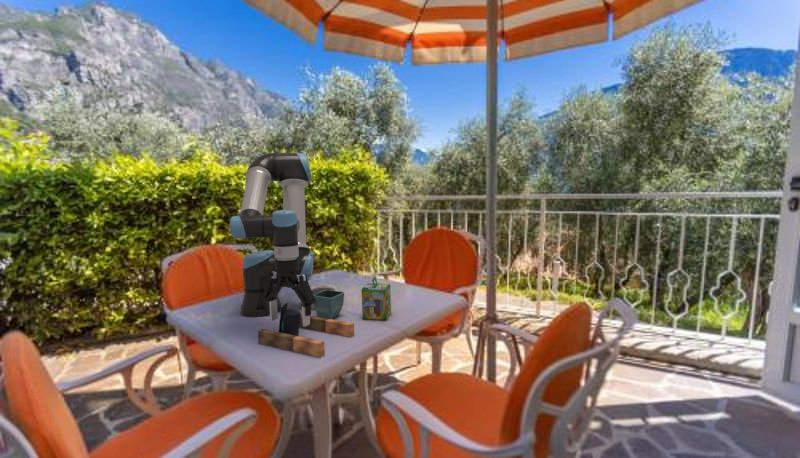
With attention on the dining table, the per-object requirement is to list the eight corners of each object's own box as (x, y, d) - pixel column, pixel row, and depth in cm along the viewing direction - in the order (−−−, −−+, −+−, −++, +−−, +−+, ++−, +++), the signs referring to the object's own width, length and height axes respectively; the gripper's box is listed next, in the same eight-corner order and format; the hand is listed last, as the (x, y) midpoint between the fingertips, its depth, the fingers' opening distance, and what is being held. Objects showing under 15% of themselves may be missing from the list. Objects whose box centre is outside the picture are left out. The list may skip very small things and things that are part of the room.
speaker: (272, 337, 127) (274, 306, 126) (283, 331, 132) (285, 302, 131) (291, 342, 124) (293, 311, 123) (302, 337, 129) (304, 306, 128)
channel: (258, 343, 123) (257, 331, 122) (297, 324, 139) (296, 313, 138) (320, 357, 112) (320, 344, 112) (354, 334, 128) (354, 323, 128)
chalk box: (386, 321, 141) (385, 281, 139) (361, 319, 143) (360, 280, 141) (391, 312, 150) (391, 275, 148) (368, 311, 152) (367, 274, 150)
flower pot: (345, 314, 148) (345, 291, 147) (332, 322, 140) (331, 298, 139) (326, 311, 152) (325, 289, 151) (312, 319, 144) (311, 295, 143)
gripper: (249, 257, 128) (252, 320, 130) (310, 263, 117) (313, 331, 119) (266, 254, 134) (269, 314, 137) (325, 259, 123) (328, 323, 126)
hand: (289, 322), depth 128 cm, fingers open, 13 cm apart
